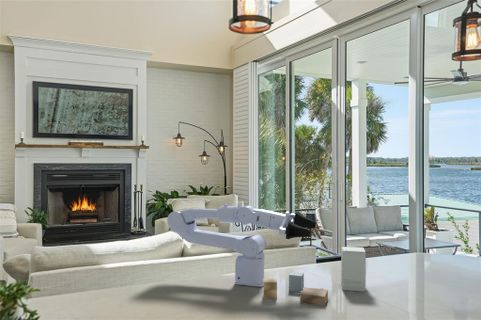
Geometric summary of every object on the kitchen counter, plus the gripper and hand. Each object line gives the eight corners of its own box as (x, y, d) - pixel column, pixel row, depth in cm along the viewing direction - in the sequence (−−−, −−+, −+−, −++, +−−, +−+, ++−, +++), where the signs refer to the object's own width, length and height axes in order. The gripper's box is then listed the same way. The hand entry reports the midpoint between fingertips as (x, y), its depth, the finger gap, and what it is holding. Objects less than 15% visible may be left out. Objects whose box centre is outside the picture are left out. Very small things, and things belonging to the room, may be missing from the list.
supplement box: (365, 291, 133) (366, 251, 133) (341, 290, 134) (341, 250, 134) (363, 285, 140) (364, 247, 140) (340, 283, 142) (341, 246, 142)
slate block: (288, 290, 134) (288, 274, 134) (291, 287, 138) (291, 271, 138) (301, 292, 133) (301, 276, 133) (303, 288, 136) (303, 272, 136)
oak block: (263, 298, 126) (263, 282, 126) (263, 294, 130) (263, 278, 130) (276, 299, 126) (277, 282, 126) (276, 295, 130) (276, 278, 130)
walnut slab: (300, 304, 122) (300, 294, 122) (304, 297, 129) (304, 287, 129) (324, 307, 120) (324, 296, 120) (327, 299, 126) (327, 289, 126)
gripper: (266, 216, 132) (309, 225, 128) (279, 202, 145) (319, 210, 141) (264, 237, 134) (306, 247, 129) (277, 221, 147) (316, 229, 143)
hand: (312, 229), depth 135 cm, fingers open, 7 cm apart
